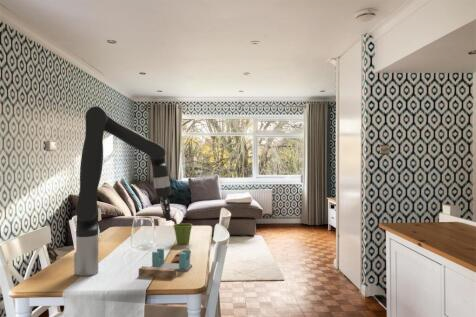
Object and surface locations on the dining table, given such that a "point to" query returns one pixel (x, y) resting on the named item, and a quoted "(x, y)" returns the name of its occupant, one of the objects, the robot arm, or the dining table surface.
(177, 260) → the sunglasses case
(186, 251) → the bracket stand
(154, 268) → the rail
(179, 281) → the dining table surface
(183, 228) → the plant pot
